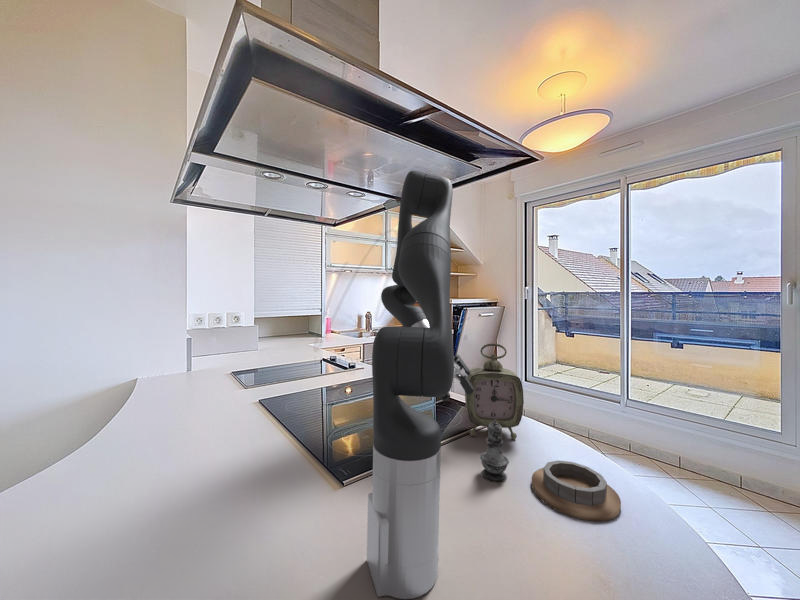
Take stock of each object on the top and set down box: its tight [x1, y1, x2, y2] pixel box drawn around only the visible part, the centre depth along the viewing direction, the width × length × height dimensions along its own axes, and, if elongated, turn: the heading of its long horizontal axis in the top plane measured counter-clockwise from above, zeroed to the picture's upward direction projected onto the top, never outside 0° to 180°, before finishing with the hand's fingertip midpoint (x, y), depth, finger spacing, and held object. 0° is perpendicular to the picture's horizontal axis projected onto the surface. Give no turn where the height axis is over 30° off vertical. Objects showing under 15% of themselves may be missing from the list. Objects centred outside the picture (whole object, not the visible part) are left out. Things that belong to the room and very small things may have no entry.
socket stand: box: [531, 460, 622, 522], centre depth 62 cm, size 15×15×4 cm
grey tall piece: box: [479, 419, 510, 484], centre depth 67 cm, size 6×6×12 cm
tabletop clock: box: [464, 343, 525, 440], centre depth 88 cm, size 14×9×25 cm, turn 83°
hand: (459, 396), depth 75 cm, fingers open, 8 cm apart
